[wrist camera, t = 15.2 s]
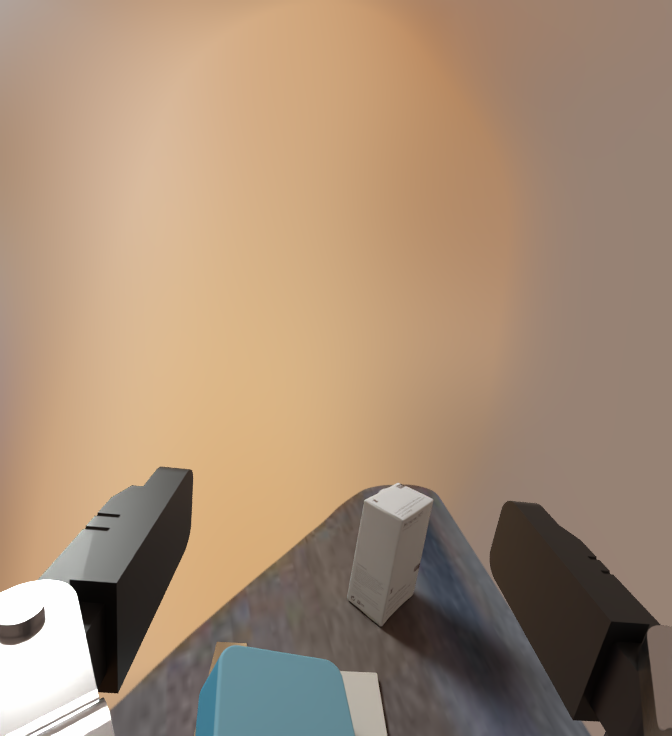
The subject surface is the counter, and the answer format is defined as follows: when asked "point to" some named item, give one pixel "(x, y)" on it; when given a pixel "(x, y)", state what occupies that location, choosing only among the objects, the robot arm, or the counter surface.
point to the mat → (364, 703)
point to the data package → (273, 696)
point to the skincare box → (388, 550)
